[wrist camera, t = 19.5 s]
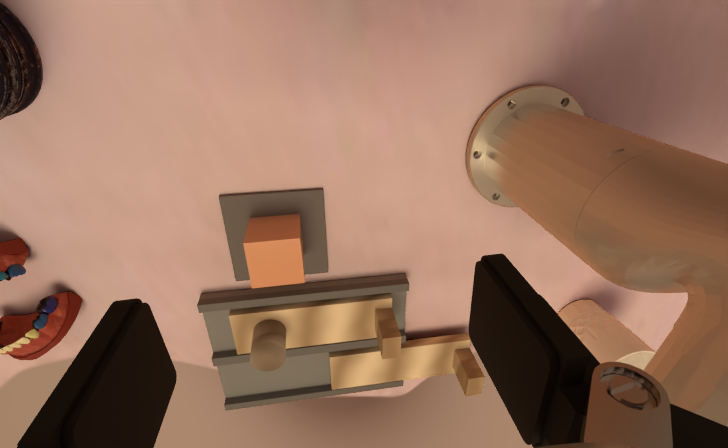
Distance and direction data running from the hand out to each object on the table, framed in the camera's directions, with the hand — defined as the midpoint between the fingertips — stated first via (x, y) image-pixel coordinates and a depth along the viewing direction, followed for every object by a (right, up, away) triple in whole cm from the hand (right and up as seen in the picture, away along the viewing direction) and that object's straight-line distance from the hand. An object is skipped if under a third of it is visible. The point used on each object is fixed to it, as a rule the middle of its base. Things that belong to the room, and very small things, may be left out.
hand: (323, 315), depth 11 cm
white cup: (+31, -10, +43) cm, 53 cm away
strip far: (+6, -15, +39) cm, 42 cm away
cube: (-8, +1, +29) cm, 30 cm away
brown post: (-9, -9, +32) cm, 35 cm away
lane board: (-5, -12, +37) cm, 39 cm away
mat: (-8, +1, +29) cm, 30 cm away
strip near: (-5, -9, +34) cm, 35 cm away
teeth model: (-34, -3, +28) cm, 44 cm away
